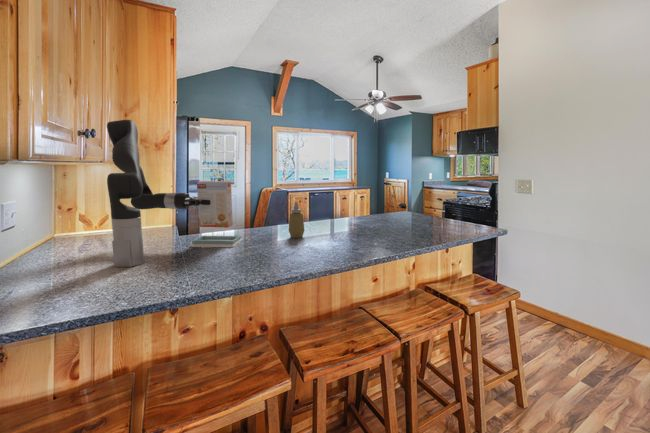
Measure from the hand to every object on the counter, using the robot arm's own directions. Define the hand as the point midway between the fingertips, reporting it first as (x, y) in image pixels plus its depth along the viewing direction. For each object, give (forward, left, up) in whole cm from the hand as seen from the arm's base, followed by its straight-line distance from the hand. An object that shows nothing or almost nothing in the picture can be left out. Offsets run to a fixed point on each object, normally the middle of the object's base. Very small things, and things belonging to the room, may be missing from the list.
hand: (212, 201), depth 155 cm
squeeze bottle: (+16, -36, -20) cm, 44 cm away
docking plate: (0, -1, -20) cm, 20 cm away
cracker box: (0, -1, -12) cm, 12 cm away
